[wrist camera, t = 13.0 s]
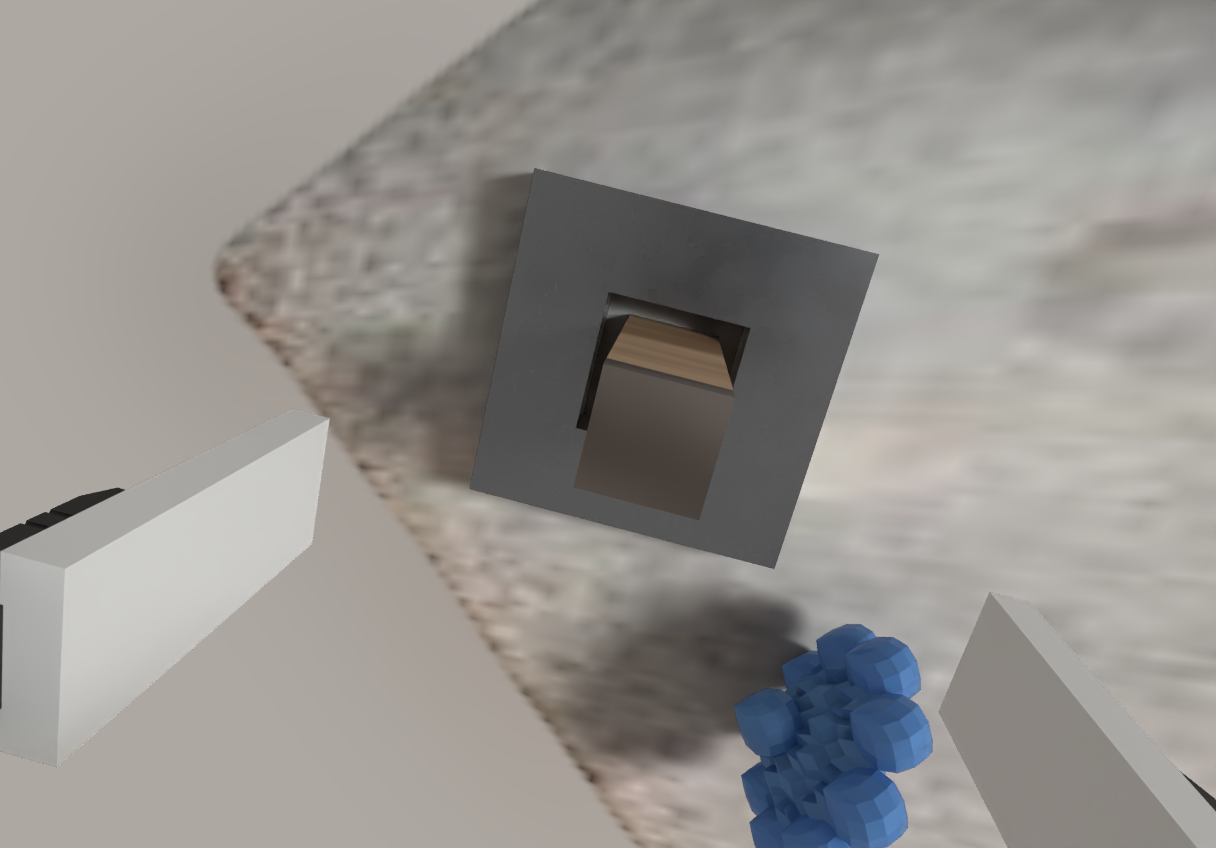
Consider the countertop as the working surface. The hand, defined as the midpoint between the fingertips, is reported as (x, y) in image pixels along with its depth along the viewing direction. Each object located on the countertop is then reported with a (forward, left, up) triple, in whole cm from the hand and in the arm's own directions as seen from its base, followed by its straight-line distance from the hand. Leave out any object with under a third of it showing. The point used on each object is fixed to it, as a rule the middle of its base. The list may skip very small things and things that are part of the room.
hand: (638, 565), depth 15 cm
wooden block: (0, 0, -20) cm, 20 cm away
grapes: (+13, +10, -21) cm, 26 cm away
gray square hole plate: (0, 0, -20) cm, 20 cm away
